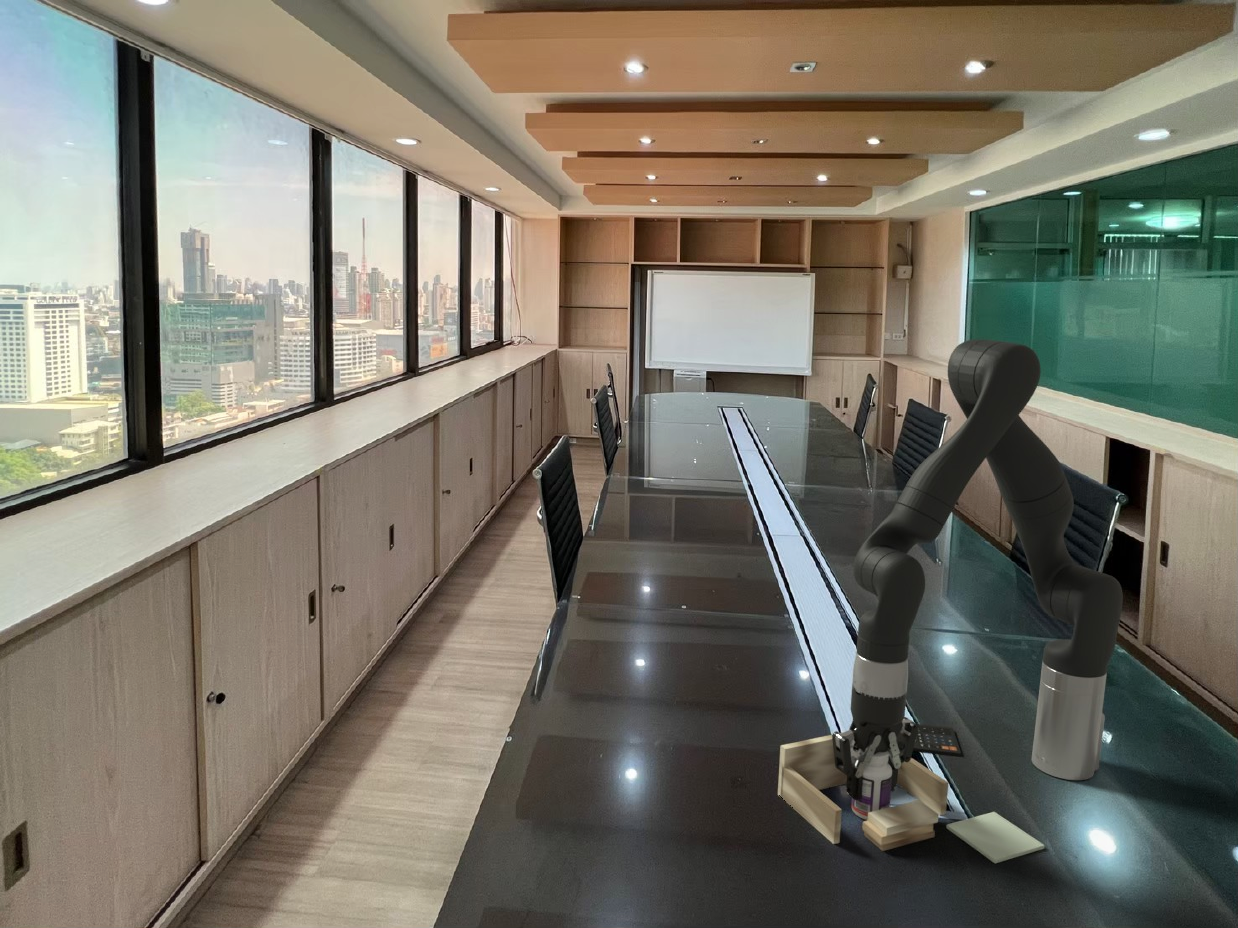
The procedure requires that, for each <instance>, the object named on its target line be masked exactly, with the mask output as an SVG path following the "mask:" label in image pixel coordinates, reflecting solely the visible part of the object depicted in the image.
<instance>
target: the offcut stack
mask: <svg viewBox="0 0 1238 928" xmlns="http://www.w3.org/2000/svg"><path fill="white" fill-rule="evenodd" d="M939 816H940V815H939V814H938V813H936V812H935V811H933V810H932V809H931V808H929V807H928V806H926V805H925V804H924V803H922V802H921V801H920V800H918V799H917V800H912V801H909V802H905V803H902V804H901V803H900V804H897V805H893V806H890V807H889V808H885V809H881V810H877V811H873V812H869V813H868V820H864V821H862V825H861V827H862V828H861V829H862V831H863V832H864V833H863V836H864V837H865V838H867V839H868V840H869V841H870V842H871V843H872V844H874V845H875V846H876V847H877V848H878V849H880V850H881V851H882V852H883V851H888V850H891V849H894V848H895V849H896V848H899V847H903V846H907V845H909V844H910V845H911V844H914V843H917V842H921V841H924V840H929V839H931V838H935V836H936V835H935V834H936V833H935V832H936V831H935V829H934V824H937V823H938V822H939Z"/></svg>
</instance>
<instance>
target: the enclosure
mask: <svg viewBox="0 0 1238 928" xmlns="http://www.w3.org/2000/svg"><path fill="white" fill-rule="evenodd" d="M844 732H845V731H844ZM844 732H839V733H840V734H841V733H844ZM832 735H833V734H829V735H824V736H820V737H819V736H818V737H814V738H810V739H806V740H805V739H804V740H800V741H796V742H791V743H785V744H781V745H780V747H779V748H780V751H779V767H778V768H779V769H778V782H777V783H778V785H777V796H779V795H780V796H781V797H782V798H783V799H782V798H781V797H780V796H779V797H780V798H781V799H782V800H783V801H784V800H785V801H786V802H785V801H784V802H785V803H786V804H787V805H789V806H790V805H791V806H790V807H791V808H792V807H793V808H792V809H793V810H794V811H796V813H798V814H799V815H800V816H801V817H802V818H803V819H805V821H807V822H808V823H809V824H810V825H811V826H812V827H814V828H815V829H816V830H817V831H818V832H819V833H820V834H822V835H823V836H824V837H825V838H826V839H827V840H828V841H829V842H831V844H833V845H834V844H835V845H836V844H839V843H840V842H841V840H840V839H841V829H842V828H841V825H842V814H843V813H842V811H843V810H842V808H840V807H839V806H838V805H837V804H836V803H835V802H833V801H832V800H831V799H830V798H829V797H828V796H826V795H825V794H823V793H822V792H821V790H824V789H828V788H829V787H830V788H833V787H837V786H842V785H846V784H847V776H846V775H845V774H844V773H843V772H842V771H840V770H839V769H837V768H836V767H835V759H834V749H833V740H832ZM852 741H853V740H852ZM859 752H860V748H859ZM857 760H858V759H857ZM949 784H950V783H949V781H947V780H946V779H944V778H942V777H941V776H940V775H938V774H937V773H935V772H933V771H932V770H931V769H929V768H927V767H926V766H924V765H923V764H922V763H920V762H918V761H917V760H915V759H914V758H912V757H911V760H910V761H909V762H905V761H904V762H903V763H901V766H900V768H898V777H897V785H896V786H899V787H900V788H901V789H903V790H904V791H906V792H907V793H909V794H910V795H911V796H912V797H914V799H915V798H916V799H917V800H920V801H921V802H922V803H924V804H925V805H926V806H928V807H929V808H931V809H932V810H933V811H935V812H936V813H937V814H939V816H944V815H946V814H947V803H948V793H949V792H948V791H949Z"/></svg>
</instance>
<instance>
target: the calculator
mask: <svg viewBox="0 0 1238 928" xmlns="http://www.w3.org/2000/svg"><path fill="white" fill-rule="evenodd" d="M917 724H918V723H917ZM918 726H919V727H918V732H917V736H916V740H915V744H914V748H913V752H916V753H917V752H918V753H926V754H934V755H935V754H936V755H945V756H954V757H961V756H962V752H961V749H960V746H959V743H958V740H957V737H956V733H955V730H954V728H953V727H946V726H938V725H928V724H918ZM896 739H897V738H896ZM903 748H905V744H904V746H903Z"/></svg>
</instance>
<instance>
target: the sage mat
mask: <svg viewBox="0 0 1238 928" xmlns="http://www.w3.org/2000/svg"><path fill="white" fill-rule="evenodd" d="M945 828H946V829H947V830H948V831H949V832H951V833H952V834H954V835H955V836H957V837H958V838H960V839H961V840H962V841H964V842H965V843H966V844H968V845H969V846H970V847H971V848H973V849H974V850H975V851H978V852H979V853H980V854H981V855H983V856H984V857H985V858H987V859H988V860H989V861H991V862H992V863H994V864H997V863H1002V862H1004V861H1008V860H1011V859H1015V858H1018V857H1021V856H1025V855H1027V854H1030V853H1034V852H1037V851H1041V850H1044V849H1045V844H1043V842H1041V841H1039V840H1037V839H1036V838H1034V837H1033V836H1032V835H1030V834H1029V833H1027V832H1025V831H1024V830H1023V829H1021V828H1019V827H1018V826H1017V825H1015V824H1013V823H1012V822H1010V821H1009V820H1007V819H1006V818H1004V817H1003V816H1001V815H1000V814H998V813H997V812H996V811H992V812H989V813H983V814H981V815H977V816H973V817H970V818H967V819H966V818H965V819H963V820H959V821H956V822H955V821H954V822H952V823H948V824H946V827H945Z"/></svg>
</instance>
